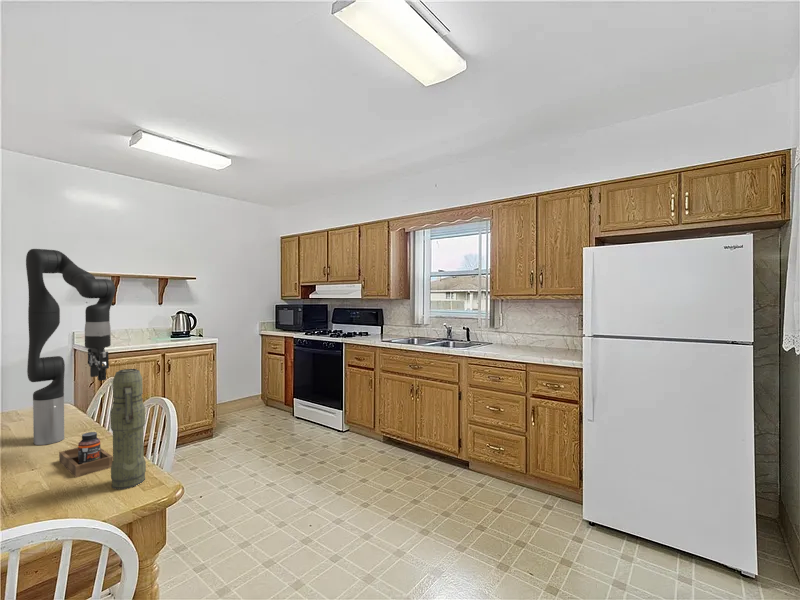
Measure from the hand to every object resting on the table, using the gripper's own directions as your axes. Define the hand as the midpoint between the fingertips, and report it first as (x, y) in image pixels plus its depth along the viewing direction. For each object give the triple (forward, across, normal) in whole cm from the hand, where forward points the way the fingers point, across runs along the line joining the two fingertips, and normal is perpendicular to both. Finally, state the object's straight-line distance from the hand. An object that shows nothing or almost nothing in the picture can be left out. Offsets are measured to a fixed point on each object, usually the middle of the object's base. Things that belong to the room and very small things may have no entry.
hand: (98, 378), depth 147 cm
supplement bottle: (+27, +12, -6) cm, 31 cm away
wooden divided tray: (+27, +8, -6) cm, 29 cm away
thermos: (+27, +34, -2) cm, 44 cm away
